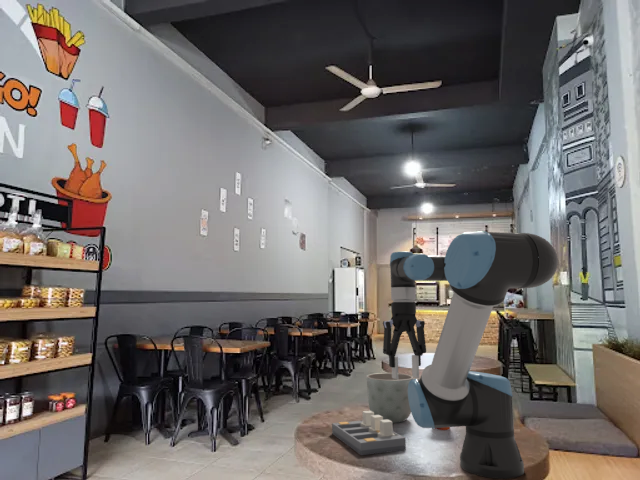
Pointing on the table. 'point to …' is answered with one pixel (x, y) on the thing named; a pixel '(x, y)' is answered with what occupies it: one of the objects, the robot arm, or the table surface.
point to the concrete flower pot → (389, 396)
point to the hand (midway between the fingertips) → (405, 377)
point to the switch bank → (366, 438)
